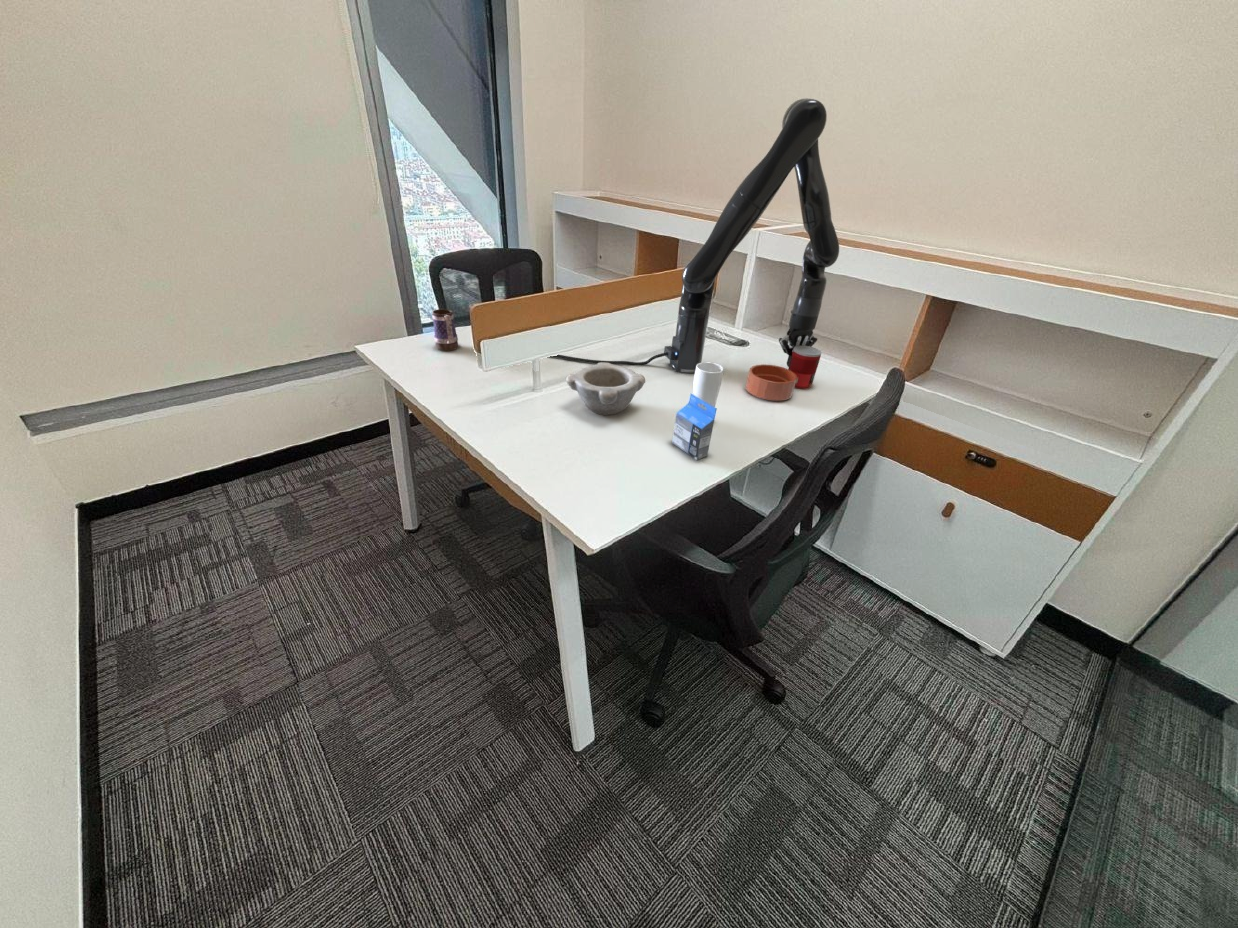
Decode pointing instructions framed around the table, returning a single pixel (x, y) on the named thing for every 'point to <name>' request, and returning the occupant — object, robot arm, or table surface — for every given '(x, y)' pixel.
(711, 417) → the blue product box
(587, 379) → the mortar
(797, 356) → the canned food
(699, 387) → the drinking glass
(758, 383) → the bowl
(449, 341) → the mug
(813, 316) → the robot arm
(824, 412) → the table surface
